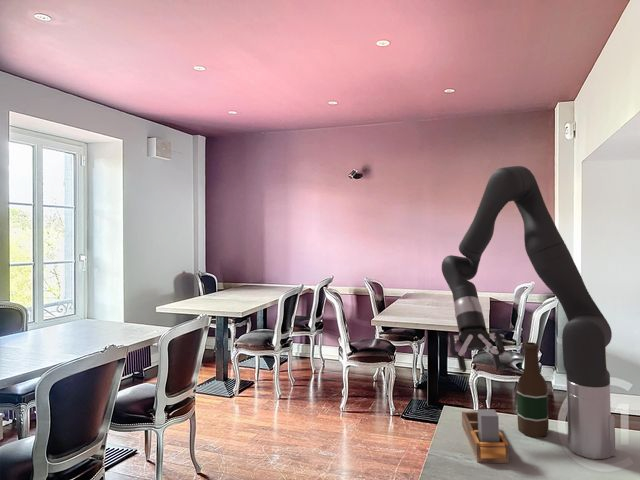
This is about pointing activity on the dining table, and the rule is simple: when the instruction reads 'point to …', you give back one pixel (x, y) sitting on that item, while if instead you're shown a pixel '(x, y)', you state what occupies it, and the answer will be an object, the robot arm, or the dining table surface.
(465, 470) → the dining table surface
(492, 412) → the block
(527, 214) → the robot arm
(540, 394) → the beer bottle
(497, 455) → the bay rack
